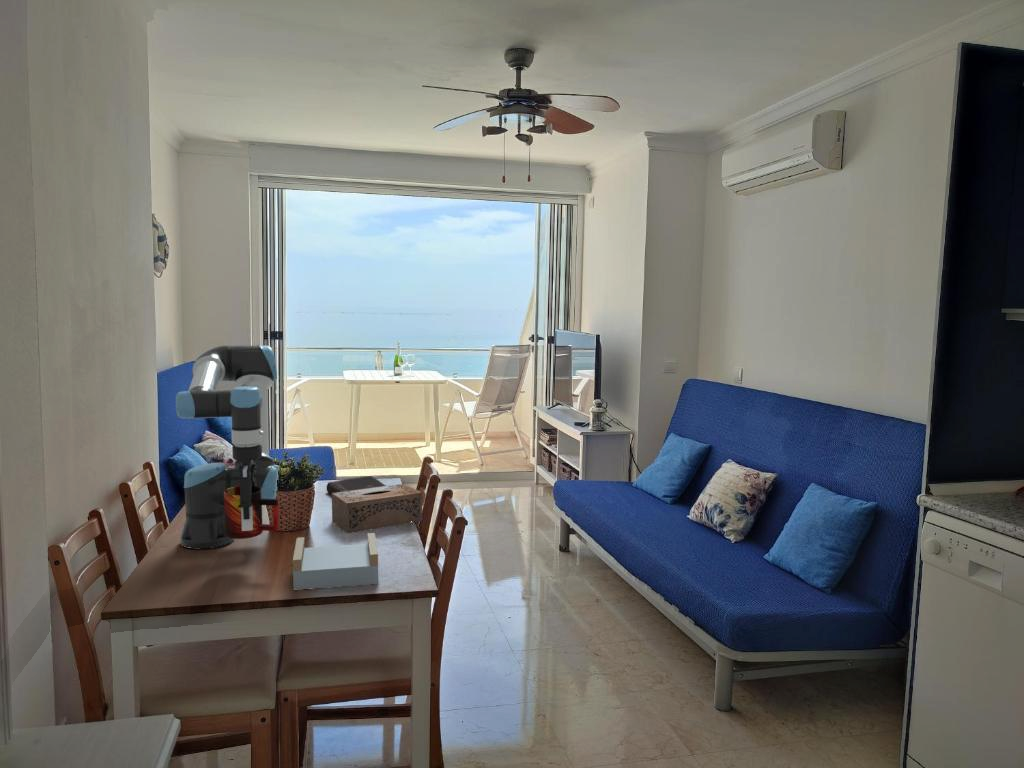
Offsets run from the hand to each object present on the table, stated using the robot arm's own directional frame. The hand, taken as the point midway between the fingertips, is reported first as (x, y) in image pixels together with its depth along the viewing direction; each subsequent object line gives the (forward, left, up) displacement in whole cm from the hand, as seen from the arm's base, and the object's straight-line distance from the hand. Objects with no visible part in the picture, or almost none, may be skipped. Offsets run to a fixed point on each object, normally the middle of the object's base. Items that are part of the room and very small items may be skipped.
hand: (249, 524), depth 203 cm
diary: (+32, +67, -12) cm, 75 cm away
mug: (+1, 0, -3) cm, 3 cm away
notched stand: (+23, -12, -12) cm, 29 cm away
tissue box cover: (+36, +34, -12) cm, 51 cm away
